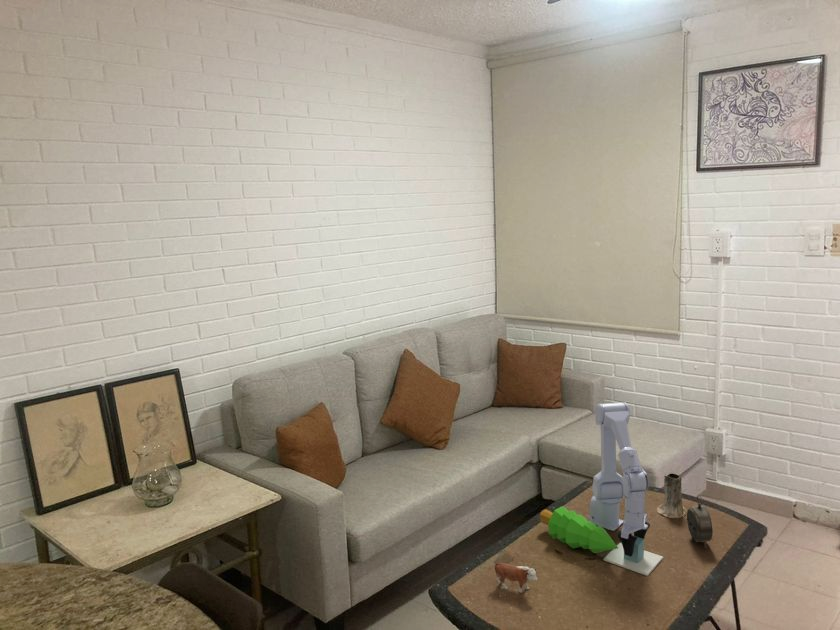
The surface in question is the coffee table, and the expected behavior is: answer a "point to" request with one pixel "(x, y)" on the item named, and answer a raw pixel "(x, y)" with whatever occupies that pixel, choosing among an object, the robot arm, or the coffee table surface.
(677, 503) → the tree stump
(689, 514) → the alarm clock
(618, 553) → the off-white tile
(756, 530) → the coffee table surface
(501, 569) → the bull figurine
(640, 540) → the teal block
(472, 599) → the coffee table surface
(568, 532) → the decorative tree
